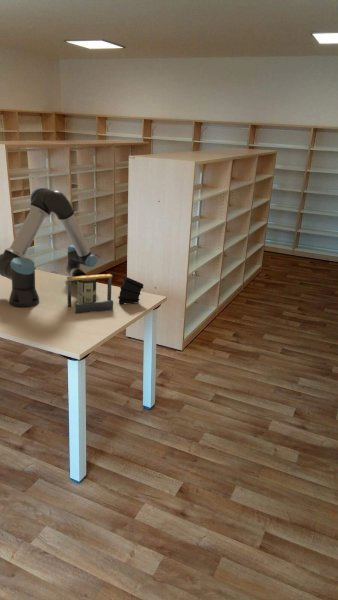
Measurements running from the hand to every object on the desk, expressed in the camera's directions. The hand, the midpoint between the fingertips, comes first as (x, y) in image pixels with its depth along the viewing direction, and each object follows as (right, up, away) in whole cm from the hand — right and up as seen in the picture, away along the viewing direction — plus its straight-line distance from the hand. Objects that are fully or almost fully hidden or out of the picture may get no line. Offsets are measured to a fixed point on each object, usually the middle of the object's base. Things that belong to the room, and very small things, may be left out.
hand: (89, 287), depth 242 cm
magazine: (+23, -8, +2) cm, 24 cm away
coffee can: (-1, -8, -3) cm, 9 cm away
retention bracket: (+3, -11, -10) cm, 15 cm away
